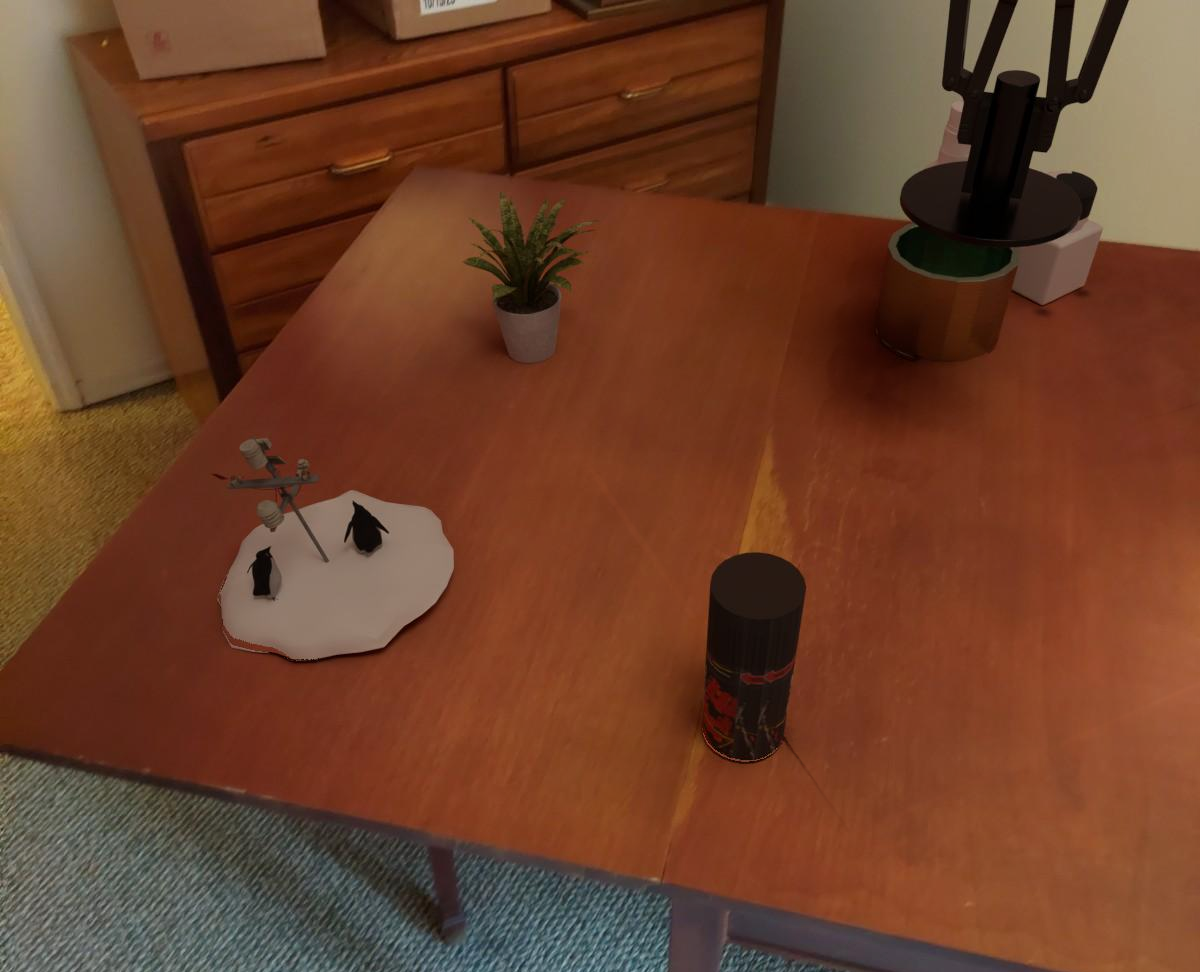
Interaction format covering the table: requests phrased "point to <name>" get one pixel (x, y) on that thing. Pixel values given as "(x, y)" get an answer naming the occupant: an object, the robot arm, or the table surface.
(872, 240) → the table surface
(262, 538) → the figurine
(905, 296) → the tin
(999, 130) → the tin lid
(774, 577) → the deodorant
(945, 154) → the spray bottle
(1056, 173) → the medicine bottle
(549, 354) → the house plant
